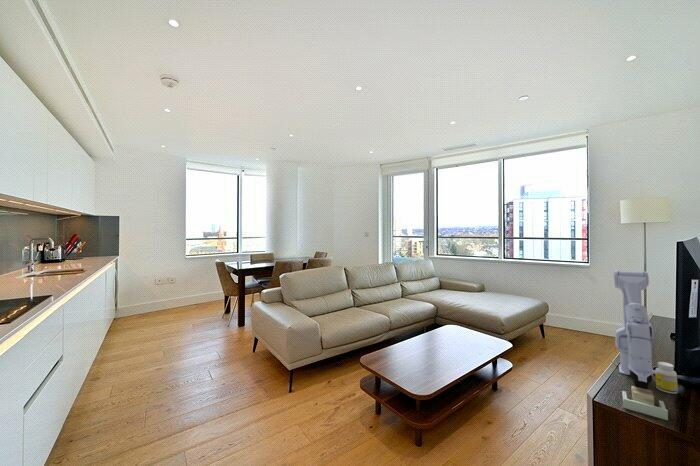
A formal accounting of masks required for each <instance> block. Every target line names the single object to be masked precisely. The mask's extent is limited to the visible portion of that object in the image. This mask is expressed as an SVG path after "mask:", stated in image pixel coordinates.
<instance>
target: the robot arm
mask: <svg viewBox="0 0 700 466" xmlns="http://www.w3.org/2000/svg"><path fill="white" fill-rule="evenodd" d="M613 280H614V281H613V282H614V287H615V288H616V289H619V290H620V291H621V293H622V309H623V314H622V315H623V326H622V327H619V328H618V329H615V335H614V340H615V341H614V343H615V348H617V349H619V357H620V358H619V359H620V361H619V363H620V364H618V368H619V374H623V375H627V376H630V377H631V379H632V381H633V383H634V387H638V388H642V389H646V390H649V386H650V384H651V383H652V382H653V375H656V374H657V371H655V369H653V362H652V360H653V359H652V358H653V356H652V341H653V339H654V328H653V326H652V325H653V324H651V323H652V322H651V321H650V320H649V315H648V309H647V307H646V306H644V305H642V291H644V290H646V289H647V288H648V286H649V283H650V282H649V281H650V280H649V273H648V272H647V271H645V270H644V271H638V270H618V269H615V270H614V271H613Z"/></svg>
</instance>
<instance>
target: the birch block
mask: <svg viewBox="0 0 700 466" xmlns="http://www.w3.org/2000/svg"><path fill="white" fill-rule="evenodd" d="M630 389H631V400H634V401H638V402H641V403H645V404H649V405H652V406H655V396H654V394H653V391H652V390H651V389H650V390H649V389H647V390H646V389H642V388H638V387H635V385H631V388H630Z"/></svg>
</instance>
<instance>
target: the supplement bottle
mask: <svg viewBox="0 0 700 466" xmlns="http://www.w3.org/2000/svg"><path fill="white" fill-rule="evenodd" d="M654 370H655V371H657V374H655V388H656V389H658V390H659V391H660V392H661V391H662V392H664V393H667V394H672V395H673V394H675V395H676V394H678V390H679V388H678V387H679V386H678V375H677V372H676V371H675V370H674V365H673V364H672V363H670V362H666V361H665V362H664V361H658V362H657V367H656V368H655V369H654Z"/></svg>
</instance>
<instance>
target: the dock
mask: <svg viewBox="0 0 700 466" xmlns="http://www.w3.org/2000/svg"><path fill="white" fill-rule="evenodd" d="M621 392H622V393H621V396H622V403H623V404H622V405H623V408H624V409H627V410H631V411H634V412H637V413H641V414H644V415H648V416H652V417H654V418H659V419H662V420H666V421H668V420H669V414H668V413H669V411H668V409H667V408H666V405H665V403H664V401H663V400H658V406H656V405H654V406H652V405H649V404H645V403H641V402H638V401H634V400H632V399H629V398H628V396H627V391H624V390H622V391H621Z"/></svg>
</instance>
